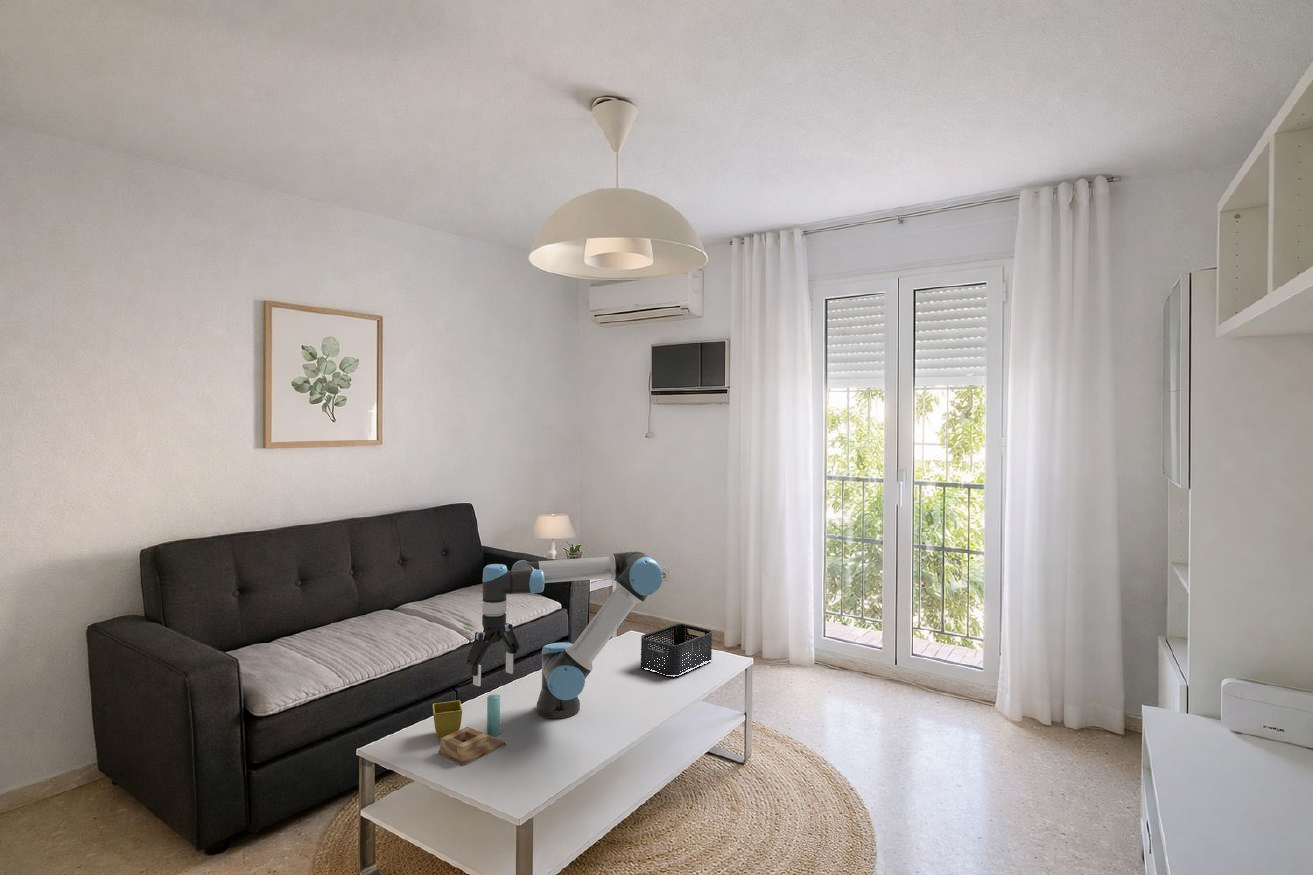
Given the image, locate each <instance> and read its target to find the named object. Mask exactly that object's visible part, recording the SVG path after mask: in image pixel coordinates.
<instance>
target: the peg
mask: <svg viewBox="0 0 1313 875" xmlns="http://www.w3.org/2000/svg"><path fill="white" fill-rule="evenodd" d="M486 699H487V700H486V701H487V702H486V704H487V706H486V707H487V708H486V710H487V713H486V734H488V735H490V736H493V737H497V736H499V735H500V733H501V728H500V727H501V695H500V694H496V693H495V694H489V695H488V696H487V698H486Z"/></svg>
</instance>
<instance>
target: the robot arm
mask: <svg viewBox="0 0 1313 875" xmlns="http://www.w3.org/2000/svg"><path fill="white" fill-rule="evenodd" d="M482 571H483V572H482V613H483V614H482V615H481V616H482V617H481V619H482V620H481V624H482V627H483V630H482V632H479V631H475V633H474V640H473V642H472V645H471V648H470V651H469V654H468V657H467V658H466V661H465V663H466V664H467V665H470V666H471V676H472V684H473V685H474V686H476V687H480V686H481V685H482V665H481V664H480V663H481V662H482V659H483V658H484V656H485V654H486V652H487V650H488V649H489V647H490V646H491V645H492V644H495V643H496V642H497V643H499V642H500V643H501V644H502V645H503V647H504V648H505V650H506V652H505V673H508V674H511V675H512V674H514V663H515V654H518V650H520V644H519V642H518V639H517V637H516V635H515V632H514V629H513V624H512V623H507V613H506V612H507V595H522V594H523V595H527V594H533V595H534V594H539V593H542V592H544V589H545V584H547V583H563V582H576V581H589V580H590V581H591V580H605V579H606V580H607V579H610V580H611V581H612V582H615V589H614V590H613V592H612V593H611V594H610V596H609V597H608V598H607V599H606V601H605V602H604V604H602V606H601V607H600V608H599V609H598V611H597V613H596V614H595V615H594V617H593V618H592V619H591V620H590V622H589V623H588V624H587V626H586V627H585V628H584V630H583V631H582V632H581V633H580V635H579V636H578V638H577V639H576V640H575V642H574V643H571V642H554V643H553V642H552V643H549V644H546V645H543V646H542V650H541V689H540V693H539V696H538V700H537V702H536V708H535V709H536V713H537V714H538V716H541V717H542V718H547V719H565V718H569V717H572V716H575V715H577V714H578V713H579V712H580V711H581V710H580V709H581V701H580V699H579V695H580V694H581V693H582V692H583V690H584V688H585V684H586V679H587V678H588V676H589V675H590V673H591V672H592V671H593V662H594V660H595V659H596V657H597V656H598V655H599V654H600V652H601V651H603V649H604V647H605V646H606V644H607V643H608V642H609V641H610V639H611V638H612V637H613V635H614V634H615V632H616V631H617V630H618V629H619V627H620V626H621V624H622V623H623V622H624V621H625V619H626V618H627V617H628V616H629V614H630V612H631V611H632V610H633V609H634V607H635V606H636V605H637V604H642V603H644V602H645V601H646V599H647V598H648V596H650V595H653V594H654V593H656V592H658V591H659V589H660V588H661V586H662V584H663V581H664V573H663V570H662V567H661V566H660V565H659V563H658V562H657V560H655V559H653V558H652V557H650V556H649V555H648V554H646V553H644V552H642V551H626V552H624V551H623V552H618V553H617V552H615V553H610V554H609V555H608V556H601V557H585V558H569V559H554V560H541V561H540V560H539V561H527V560H524V559H522V560H520V559H519V560H518V561H516V562H514V564H513V565H512V568H511V570H508V567H507V565H505V564H502V563H500V564H499V563H492V564H491V563H490V564H487V565H485V566H484V568H483V569H482Z"/></svg>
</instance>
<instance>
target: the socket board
mask: <svg viewBox="0 0 1313 875" xmlns="http://www.w3.org/2000/svg"><path fill="white" fill-rule="evenodd" d="M506 745H507V743H506V741H505V740H502V739H499V738H498V737H496V736H490V735H488V734H487V733H484V732H482V731H480V730H477V729H474V728H473V727H469V726H465V727H463V728H460V729H459V730H458V731H456V732H454V733H451V734H449V735H447V736H444V737H442V738H440V749H439V750H438V751H437V752H438V754H439V755H440V756H443V757H445V758H448V759H449V760H452V761H454V762H456V763H458V764H461V765H462V766H466V765H468V764H470V763H472V762H475V761H476V760H478V759H480V758H482V757H484V756H487V755H489V754H491V753H493V752H495V751H496V750H499V749H501V748H502V747H504V746H506Z"/></svg>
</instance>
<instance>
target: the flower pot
mask: <svg viewBox="0 0 1313 875" xmlns="http://www.w3.org/2000/svg"><path fill="white" fill-rule="evenodd" d="M432 715H433V722H434V723H433V724H434V730H435V733H436V735H437V737H438V738H439V739H441V738H442V737H444V736H447V735H449V734H451V733H454V732H456V731H458V730H460V729H461V725H462V718H463V717H462V716H463V708H462V702H461V700H452V701H451V700H450V701H445V702H436V703H432Z"/></svg>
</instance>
